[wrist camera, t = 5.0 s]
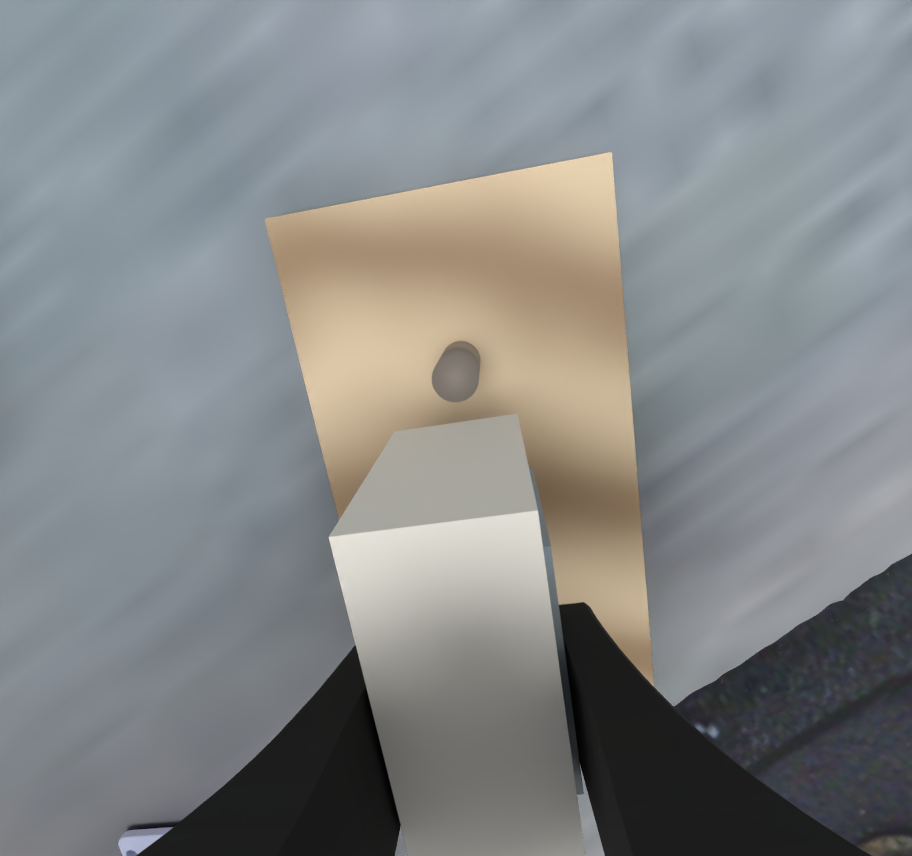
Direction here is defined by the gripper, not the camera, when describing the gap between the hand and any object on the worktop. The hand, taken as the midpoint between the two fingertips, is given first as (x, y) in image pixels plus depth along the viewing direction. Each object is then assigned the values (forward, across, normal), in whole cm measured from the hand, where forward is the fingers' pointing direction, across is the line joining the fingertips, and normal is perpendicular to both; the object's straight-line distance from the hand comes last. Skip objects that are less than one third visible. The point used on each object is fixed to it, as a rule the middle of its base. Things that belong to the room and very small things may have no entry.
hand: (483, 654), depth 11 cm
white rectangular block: (+3, 0, -1) cm, 3 cm away
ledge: (+8, 0, 0) cm, 8 cm away
